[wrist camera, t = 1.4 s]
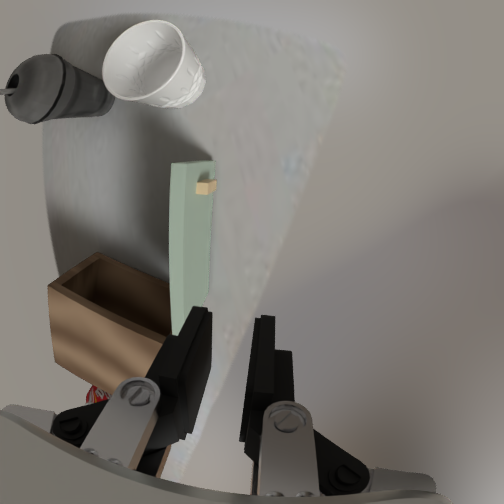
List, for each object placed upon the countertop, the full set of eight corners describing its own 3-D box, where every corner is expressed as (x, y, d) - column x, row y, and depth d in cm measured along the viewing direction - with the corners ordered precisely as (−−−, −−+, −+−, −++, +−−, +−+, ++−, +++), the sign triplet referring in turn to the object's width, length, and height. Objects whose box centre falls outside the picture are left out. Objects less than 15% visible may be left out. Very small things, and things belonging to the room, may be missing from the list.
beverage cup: (134, 92, 27) (8, 57, 8) (99, 137, 29) (-32, 145, 10) (104, 64, 26) (-11, 27, 7) (72, 107, 28) (-47, 102, 9)
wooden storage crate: (180, 363, 40) (158, 415, 29) (91, 322, 39) (55, 362, 29) (201, 296, 35) (175, 349, 25) (97, 251, 35) (47, 285, 24)
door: (198, 295, 35) (173, 346, 25) (204, 160, 29) (171, 163, 19) (216, 298, 34) (195, 350, 25) (224, 161, 29) (199, 164, 19)
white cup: (158, 125, 29) (113, 116, 19) (140, 71, 26) (95, 49, 17) (220, 97, 27) (197, 73, 18) (199, 43, 25) (171, 5, 15)
